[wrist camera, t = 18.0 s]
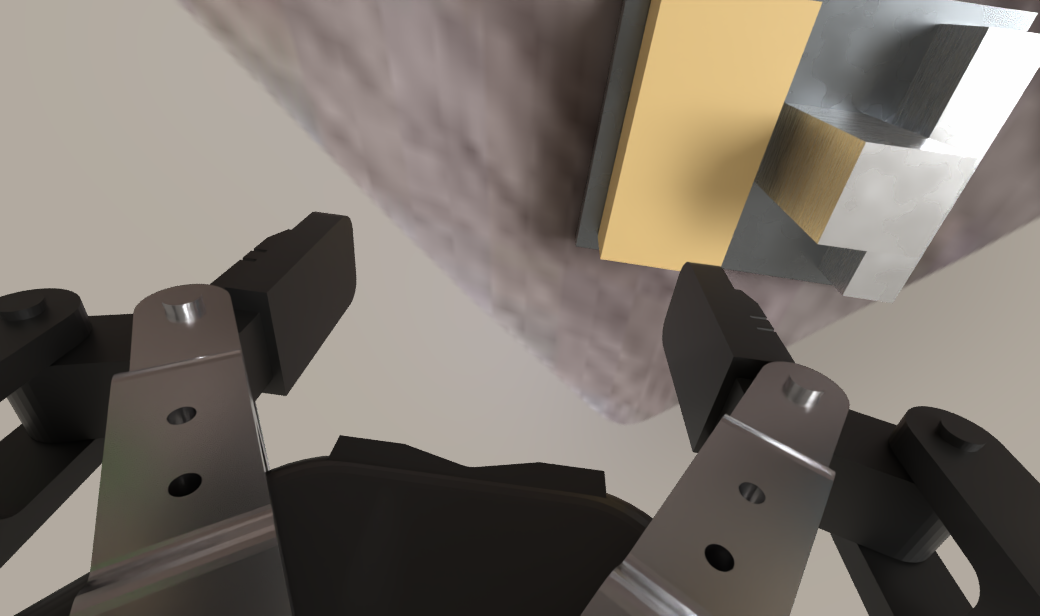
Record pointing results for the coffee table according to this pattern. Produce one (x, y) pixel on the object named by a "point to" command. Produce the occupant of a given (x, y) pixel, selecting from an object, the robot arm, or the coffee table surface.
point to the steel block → (860, 179)
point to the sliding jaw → (699, 125)
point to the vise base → (855, 88)
